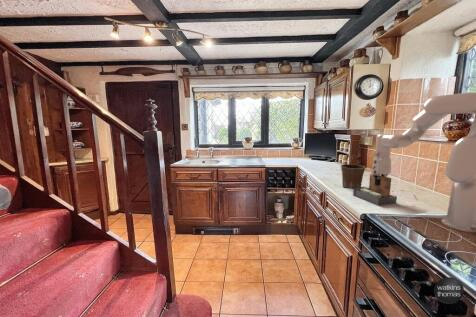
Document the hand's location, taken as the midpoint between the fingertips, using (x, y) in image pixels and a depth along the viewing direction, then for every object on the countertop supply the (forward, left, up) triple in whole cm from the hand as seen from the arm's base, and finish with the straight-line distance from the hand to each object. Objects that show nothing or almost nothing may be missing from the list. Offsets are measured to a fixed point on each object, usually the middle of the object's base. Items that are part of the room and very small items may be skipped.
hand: (379, 184), depth 136 cm
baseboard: (-4, -17, -11) cm, 21 cm away
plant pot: (+27, -5, -10) cm, 30 cm away
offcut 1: (+4, +6, -9) cm, 11 cm away
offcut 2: (-3, +6, -9) cm, 11 cm away
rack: (0, +3, -10) cm, 11 cm away
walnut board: (0, 0, -8) cm, 8 cm away
